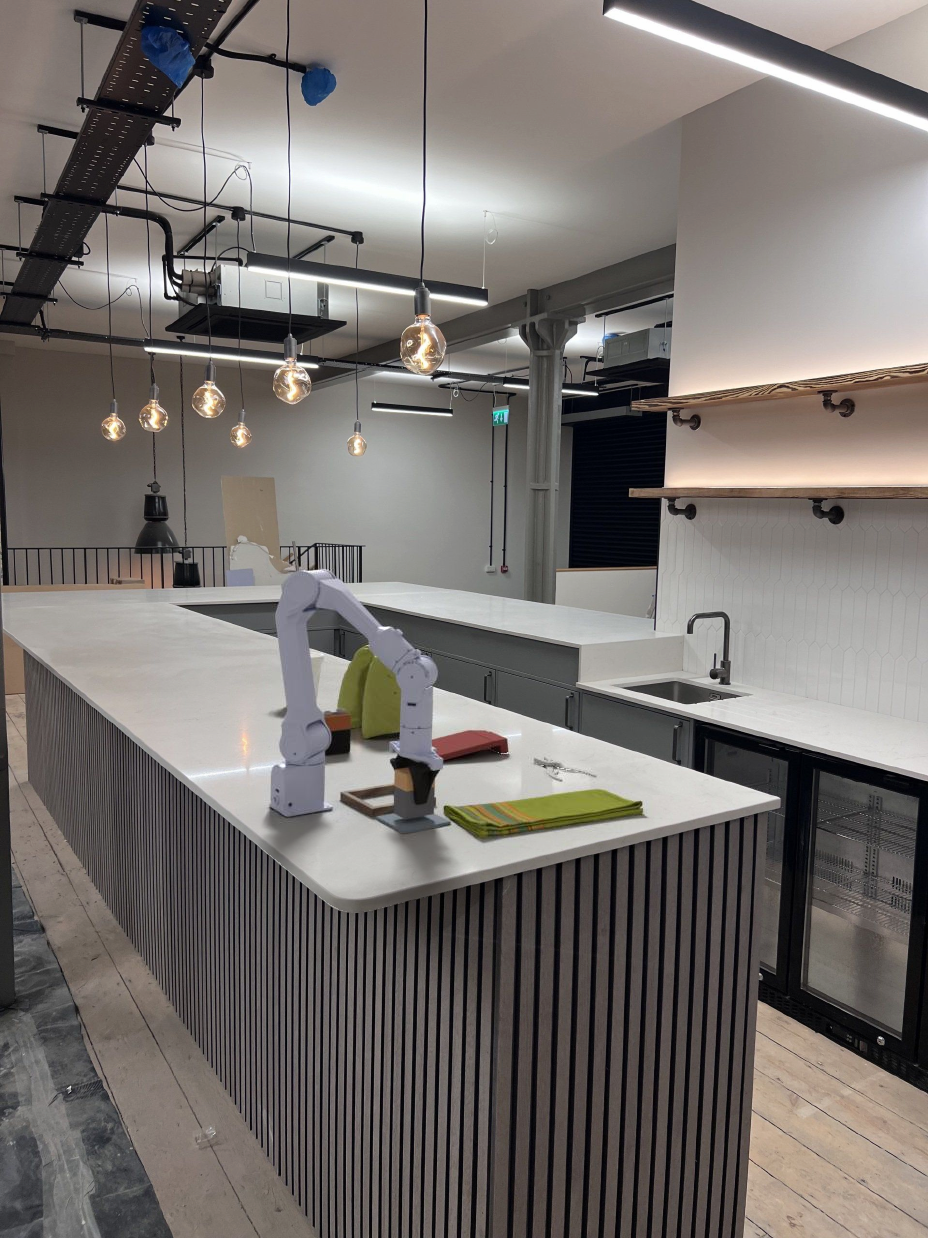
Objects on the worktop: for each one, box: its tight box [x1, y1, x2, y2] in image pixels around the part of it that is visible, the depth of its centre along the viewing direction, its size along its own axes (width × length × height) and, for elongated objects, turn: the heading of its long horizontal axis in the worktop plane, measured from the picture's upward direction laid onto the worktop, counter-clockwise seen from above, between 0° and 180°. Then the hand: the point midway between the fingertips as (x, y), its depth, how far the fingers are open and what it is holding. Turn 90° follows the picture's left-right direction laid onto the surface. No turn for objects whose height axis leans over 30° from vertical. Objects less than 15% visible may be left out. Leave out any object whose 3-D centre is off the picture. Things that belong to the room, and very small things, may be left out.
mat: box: [375, 813, 452, 835], centre depth 159 cm, size 10×9×1 cm
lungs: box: [336, 644, 401, 740], centre depth 230 cm, size 25×16×24 cm, turn 33°
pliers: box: [533, 756, 597, 782], centre depth 197 cm, size 10×2×15 cm
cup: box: [279, 651, 325, 703], centre depth 257 cm, size 12×12×15 cm
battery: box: [323, 709, 352, 757], centre depth 205 cm, size 4×7×10 cm, turn 126°
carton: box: [432, 729, 509, 761], centre depth 208 cm, size 12×5×25 cm
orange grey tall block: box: [393, 767, 436, 819], centre depth 158 cm, size 6×4×8 cm, turn 126°
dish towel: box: [443, 788, 644, 839], centre depth 166 cm, size 15×36×3 cm, turn 118°
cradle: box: [339, 782, 437, 818], centre depth 169 cm, size 14×12×2 cm
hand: (413, 800), depth 158 cm, fingers closed on orange grey tall block, 4 cm apart
